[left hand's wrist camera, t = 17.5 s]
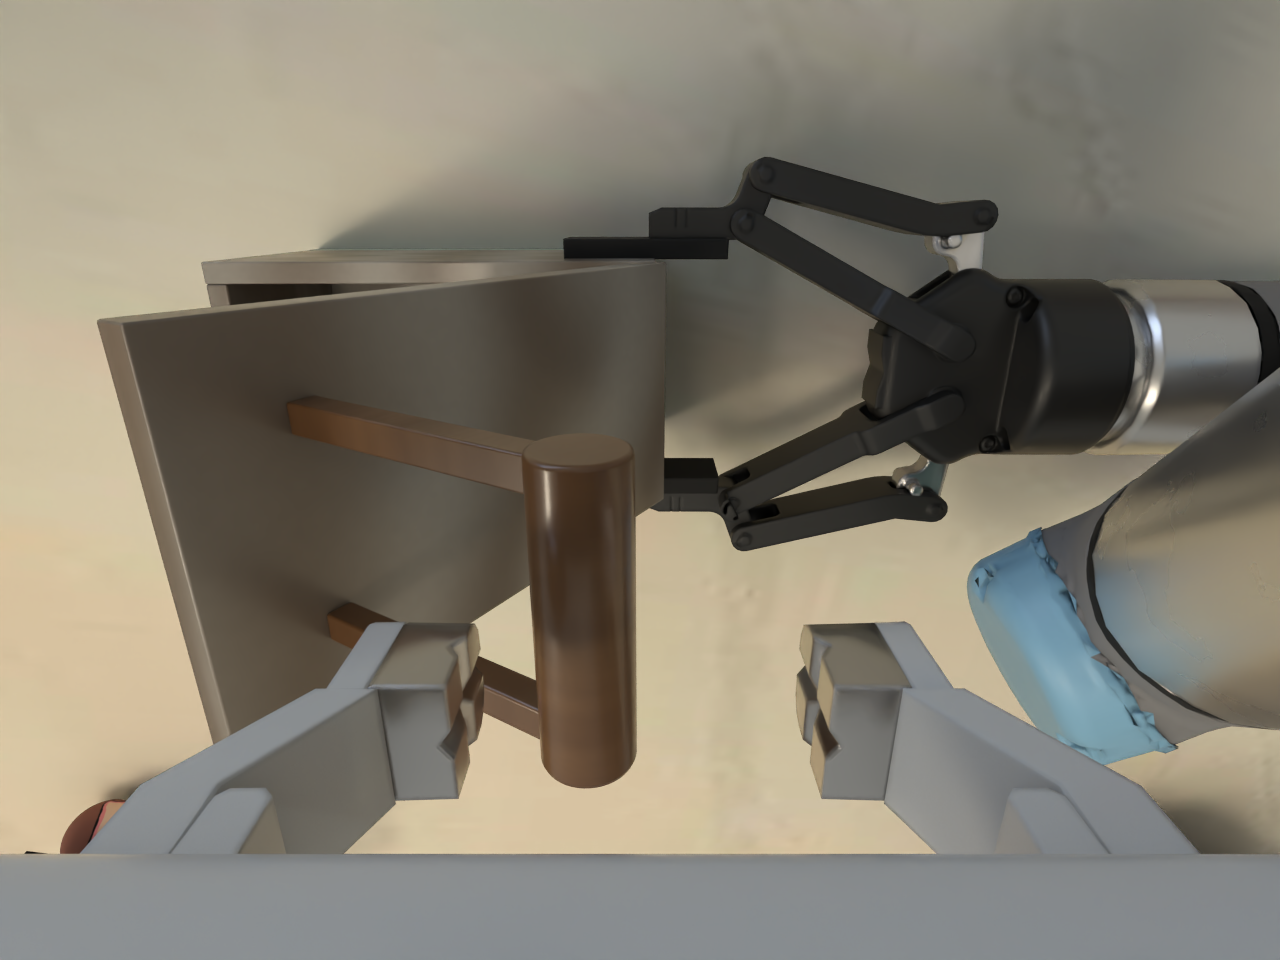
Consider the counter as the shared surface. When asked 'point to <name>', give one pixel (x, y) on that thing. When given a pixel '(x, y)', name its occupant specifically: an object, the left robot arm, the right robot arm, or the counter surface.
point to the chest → (373, 270)
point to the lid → (408, 485)
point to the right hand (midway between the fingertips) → (571, 368)
